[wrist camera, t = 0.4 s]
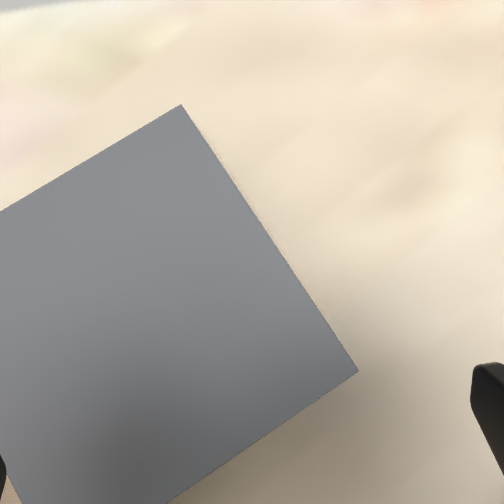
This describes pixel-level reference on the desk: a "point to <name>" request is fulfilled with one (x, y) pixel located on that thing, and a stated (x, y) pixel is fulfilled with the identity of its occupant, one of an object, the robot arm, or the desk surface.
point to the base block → (147, 326)
